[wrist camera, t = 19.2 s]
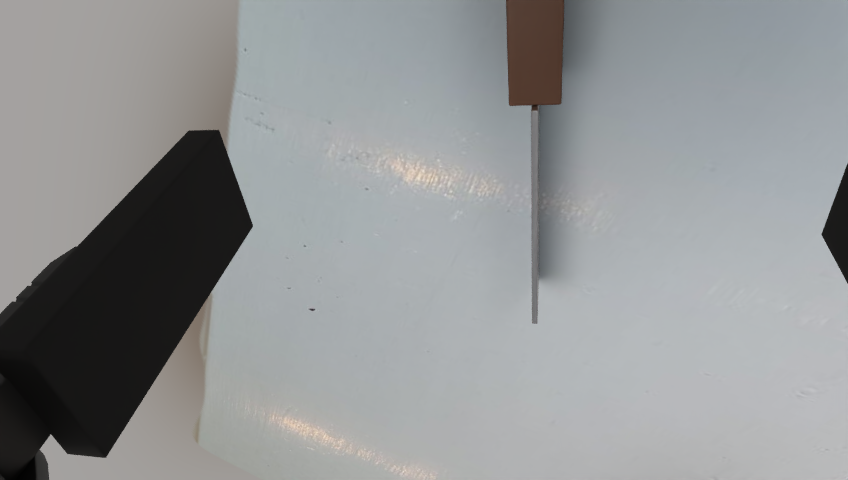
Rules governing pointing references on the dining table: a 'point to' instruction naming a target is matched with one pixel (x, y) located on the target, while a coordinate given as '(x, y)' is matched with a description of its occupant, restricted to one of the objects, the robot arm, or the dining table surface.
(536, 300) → the knife
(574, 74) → the dining table surface
